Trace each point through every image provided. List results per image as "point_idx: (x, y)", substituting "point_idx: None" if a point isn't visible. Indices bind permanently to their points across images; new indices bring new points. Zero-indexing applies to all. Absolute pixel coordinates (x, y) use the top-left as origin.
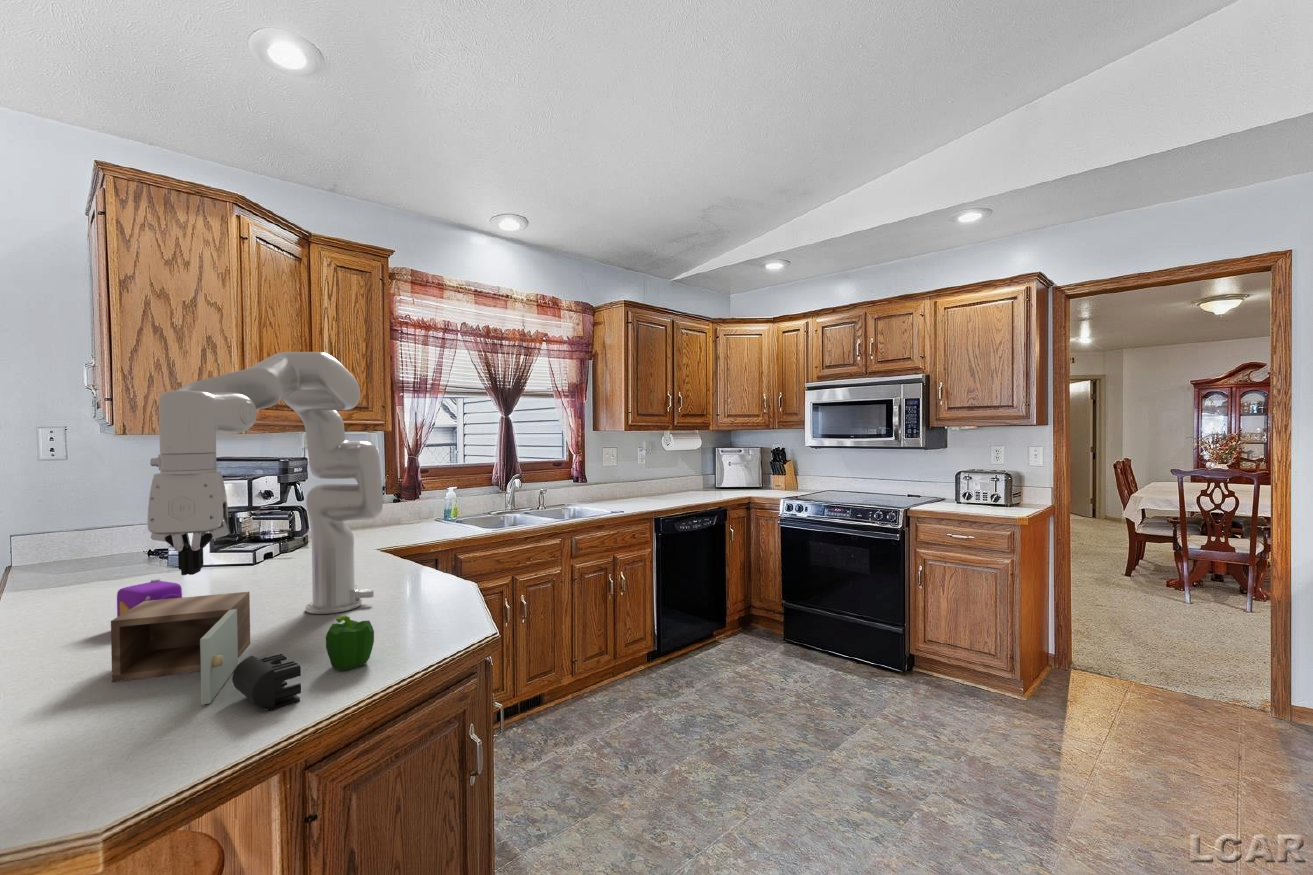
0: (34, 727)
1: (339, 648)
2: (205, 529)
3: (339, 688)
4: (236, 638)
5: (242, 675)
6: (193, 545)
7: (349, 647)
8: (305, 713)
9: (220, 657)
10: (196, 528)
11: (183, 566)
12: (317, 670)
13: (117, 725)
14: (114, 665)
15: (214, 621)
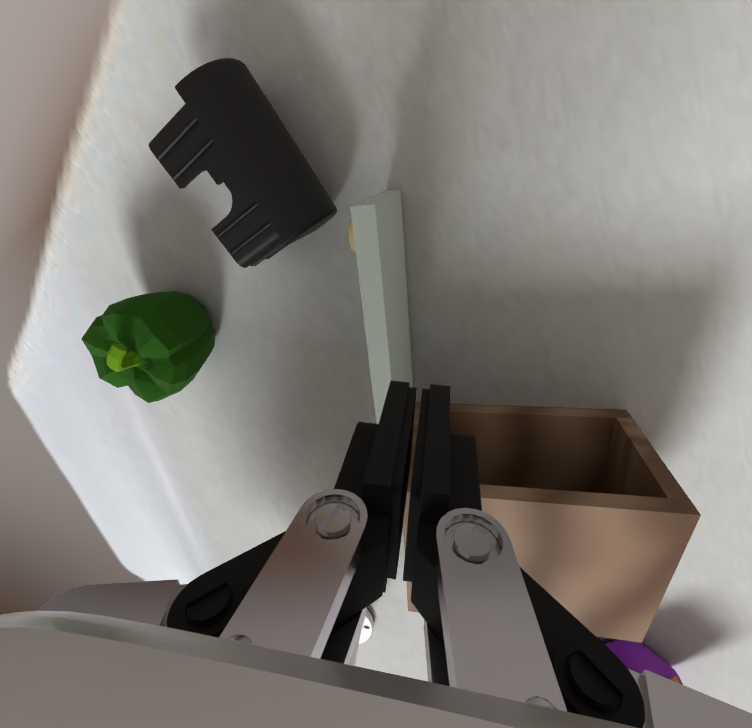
0: (740, 192)
1: (150, 297)
2: (23, 642)
3: (154, 198)
4: None
5: (286, 157)
6: (346, 536)
7: (132, 297)
8: (161, 59)
9: (349, 227)
10: (121, 702)
11: (435, 412)
12: (240, 320)
13: (553, 134)
14: (635, 431)
15: None
